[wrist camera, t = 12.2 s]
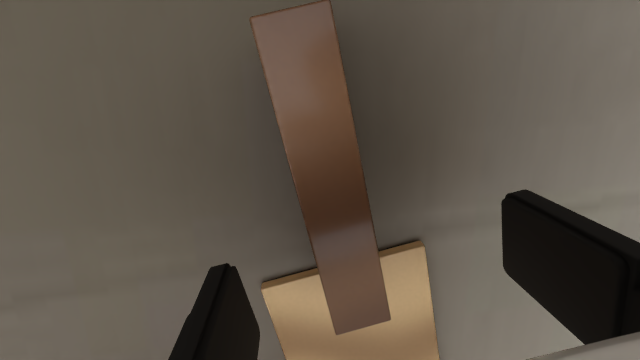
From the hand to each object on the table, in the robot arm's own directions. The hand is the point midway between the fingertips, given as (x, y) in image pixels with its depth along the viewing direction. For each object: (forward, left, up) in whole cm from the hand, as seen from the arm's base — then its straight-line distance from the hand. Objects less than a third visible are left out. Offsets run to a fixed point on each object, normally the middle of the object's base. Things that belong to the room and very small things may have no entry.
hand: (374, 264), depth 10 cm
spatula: (+2, -1, -5) cm, 5 cm away
